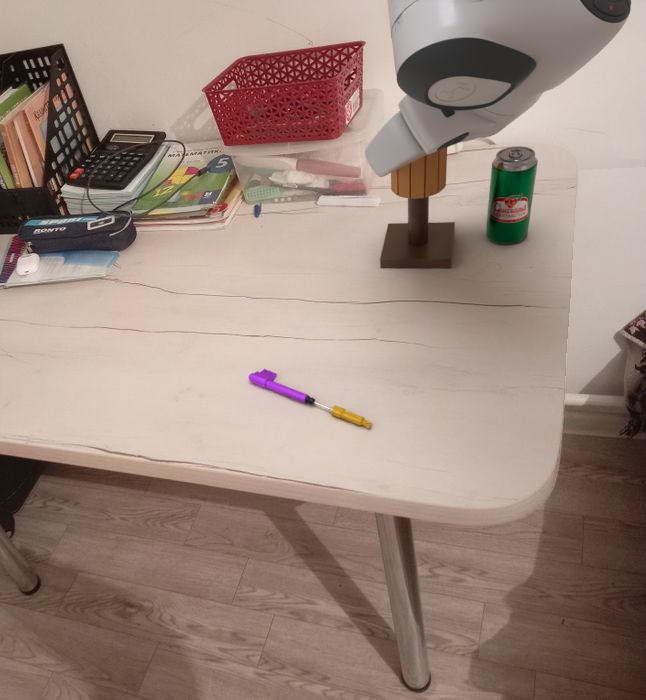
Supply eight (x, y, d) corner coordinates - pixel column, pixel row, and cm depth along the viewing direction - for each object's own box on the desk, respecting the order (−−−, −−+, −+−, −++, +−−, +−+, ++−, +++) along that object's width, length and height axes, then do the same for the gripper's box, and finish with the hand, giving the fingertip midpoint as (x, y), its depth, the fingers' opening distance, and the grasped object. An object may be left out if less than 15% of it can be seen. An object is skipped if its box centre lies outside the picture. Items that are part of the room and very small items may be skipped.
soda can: (484, 246, 84) (492, 165, 76) (486, 226, 87) (493, 146, 79) (527, 246, 82) (539, 163, 74) (527, 225, 85) (538, 143, 77)
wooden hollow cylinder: (427, 203, 77) (428, 150, 73) (381, 192, 82) (379, 142, 77) (455, 178, 80) (458, 126, 75) (409, 169, 84) (409, 119, 80)
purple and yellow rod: (247, 382, 76) (367, 432, 66) (246, 374, 75) (368, 423, 65) (259, 372, 77) (379, 419, 67) (259, 364, 77) (380, 411, 67)
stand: (454, 230, 88) (458, 155, 81) (450, 268, 82) (454, 191, 75) (388, 231, 92) (386, 160, 84) (380, 268, 86) (377, 194, 79)
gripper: (541, 30, 67) (466, 100, 81) (391, 102, 63) (338, 163, 77) (572, 80, 67) (490, 142, 80) (422, 154, 63) (363, 207, 76)
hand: (415, 153), depth 78 cm, fingers closed on wooden hollow cylinder, 7 cm apart
